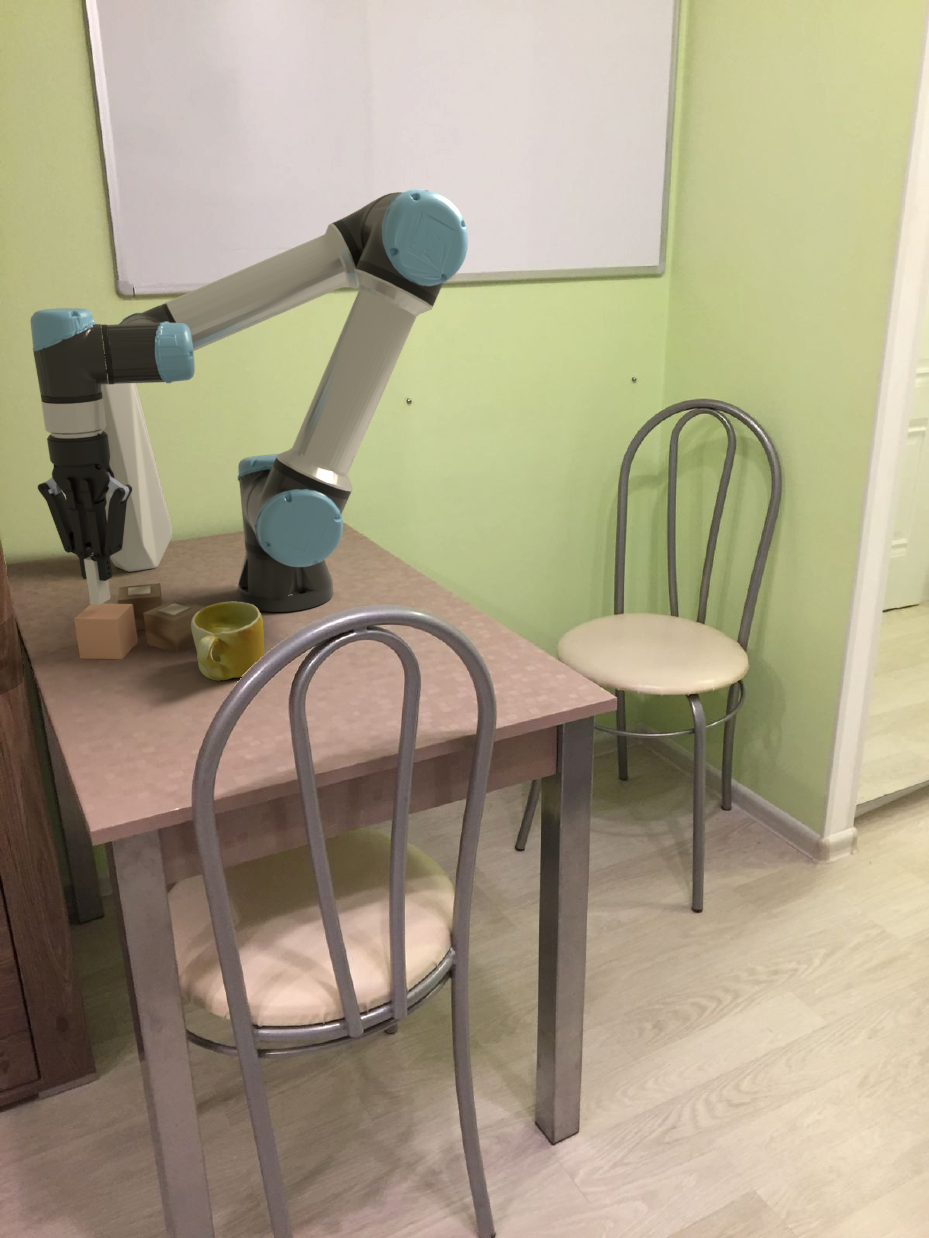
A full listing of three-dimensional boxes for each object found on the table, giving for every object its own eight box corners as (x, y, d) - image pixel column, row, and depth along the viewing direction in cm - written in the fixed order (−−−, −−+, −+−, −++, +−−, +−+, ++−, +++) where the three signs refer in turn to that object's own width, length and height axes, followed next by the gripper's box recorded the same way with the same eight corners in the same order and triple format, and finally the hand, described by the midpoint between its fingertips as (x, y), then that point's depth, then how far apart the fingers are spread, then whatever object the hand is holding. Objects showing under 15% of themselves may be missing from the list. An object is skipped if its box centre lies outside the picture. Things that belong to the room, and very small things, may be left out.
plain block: (137, 642, 146) (132, 603, 144) (122, 659, 141) (116, 619, 138) (97, 642, 147) (91, 603, 144) (80, 658, 141) (74, 618, 139)
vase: (185, 555, 184) (164, 371, 172) (159, 575, 173) (134, 381, 161) (122, 553, 186) (97, 370, 174) (92, 573, 175) (63, 380, 163)
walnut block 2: (208, 639, 147) (204, 605, 146) (178, 653, 143) (174, 619, 141) (177, 631, 150) (173, 598, 148) (147, 645, 145) (143, 611, 143)
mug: (216, 634, 144) (220, 579, 137) (277, 664, 141) (284, 610, 135) (161, 682, 134) (162, 626, 128) (225, 715, 132) (230, 659, 126)
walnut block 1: (163, 613, 157) (159, 582, 155) (164, 627, 152) (159, 594, 150) (123, 617, 156) (119, 585, 154) (122, 631, 150) (117, 598, 148)
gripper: (137, 429, 134) (156, 596, 143) (50, 425, 137) (74, 588, 146) (105, 440, 127) (128, 614, 136) (15, 435, 130) (42, 606, 139)
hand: (100, 601), depth 141 cm, fingers closed
